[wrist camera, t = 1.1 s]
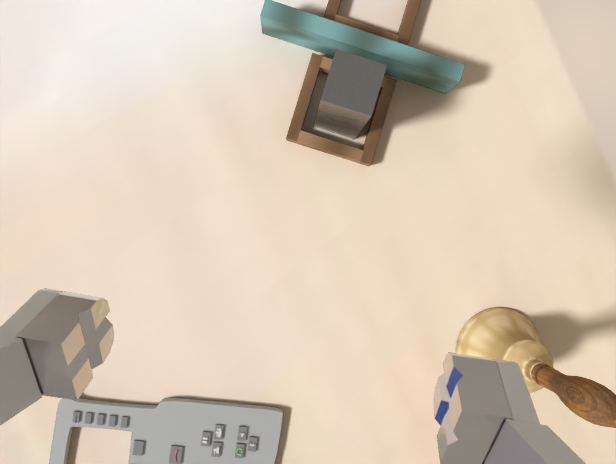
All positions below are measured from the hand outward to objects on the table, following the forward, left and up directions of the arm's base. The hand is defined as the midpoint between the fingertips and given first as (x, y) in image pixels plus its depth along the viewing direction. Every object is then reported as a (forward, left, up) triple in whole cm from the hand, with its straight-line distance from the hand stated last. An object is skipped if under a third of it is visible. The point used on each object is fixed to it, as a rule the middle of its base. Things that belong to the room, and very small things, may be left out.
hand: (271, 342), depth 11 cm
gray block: (+1, +15, -31) cm, 35 cm away
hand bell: (+22, -2, -32) cm, 39 cm away
